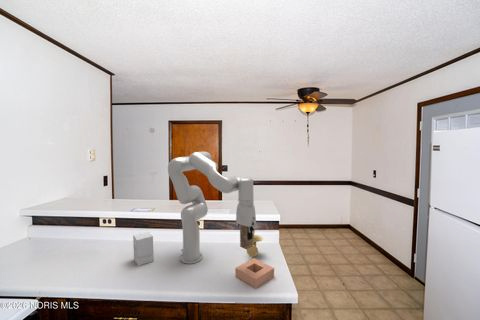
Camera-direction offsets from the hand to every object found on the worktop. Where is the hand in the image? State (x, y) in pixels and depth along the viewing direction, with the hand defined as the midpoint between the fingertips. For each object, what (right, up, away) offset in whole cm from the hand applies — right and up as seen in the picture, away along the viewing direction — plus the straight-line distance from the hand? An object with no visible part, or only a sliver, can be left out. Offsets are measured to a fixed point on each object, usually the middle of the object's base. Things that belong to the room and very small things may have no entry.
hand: (246, 237), depth 123 cm
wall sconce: (+5, -19, +21) cm, 29 cm away
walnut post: (0, -5, 0) cm, 5 cm away
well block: (+4, -20, +1) cm, 21 cm away
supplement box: (-59, -19, +16) cm, 64 cm away
